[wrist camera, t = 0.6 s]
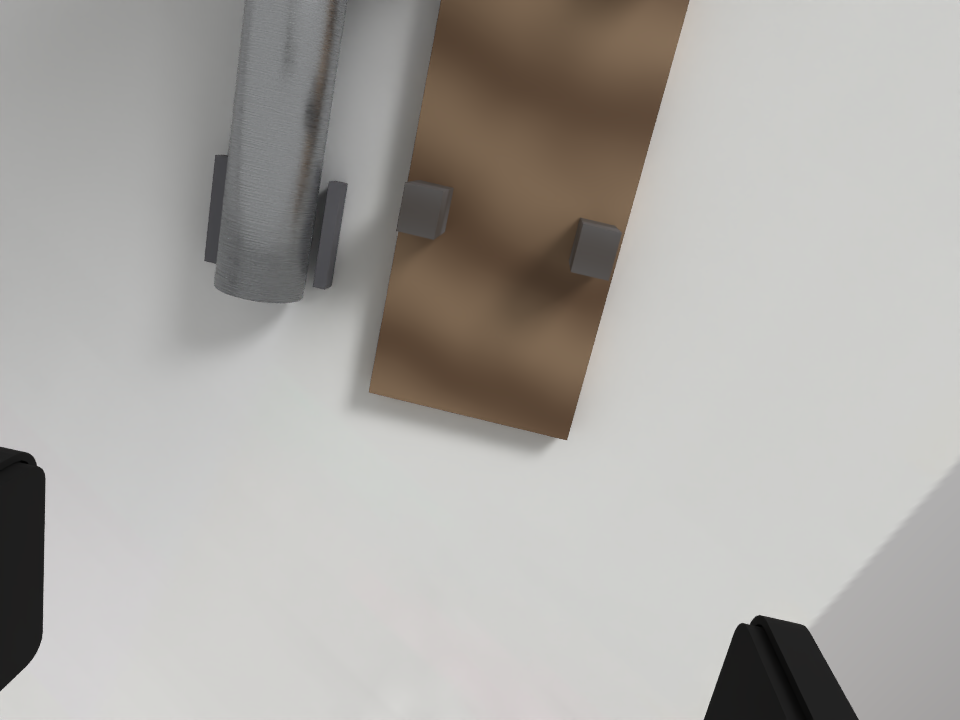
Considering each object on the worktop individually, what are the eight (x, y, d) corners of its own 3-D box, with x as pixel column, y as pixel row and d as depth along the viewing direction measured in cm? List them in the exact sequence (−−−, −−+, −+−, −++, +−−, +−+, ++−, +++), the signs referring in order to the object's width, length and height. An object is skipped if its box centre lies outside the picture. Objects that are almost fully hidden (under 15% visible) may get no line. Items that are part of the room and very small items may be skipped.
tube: (298, -317, 28) (270, -390, 24) (399, -289, 28) (388, -357, 24) (230, 273, 35) (200, 289, 31) (311, 290, 35) (291, 308, 31)
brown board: (520, -397, 27) (505, -679, 18) (781, -344, 26) (900, -602, 17) (374, 384, 36) (316, 460, 27) (566, 431, 36) (571, 523, 27)
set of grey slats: (274, -303, 28) (265, -319, 27) (420, -272, 28) (415, -287, 27) (213, 258, 35) (204, 260, 34) (331, 285, 35) (324, 289, 34)
